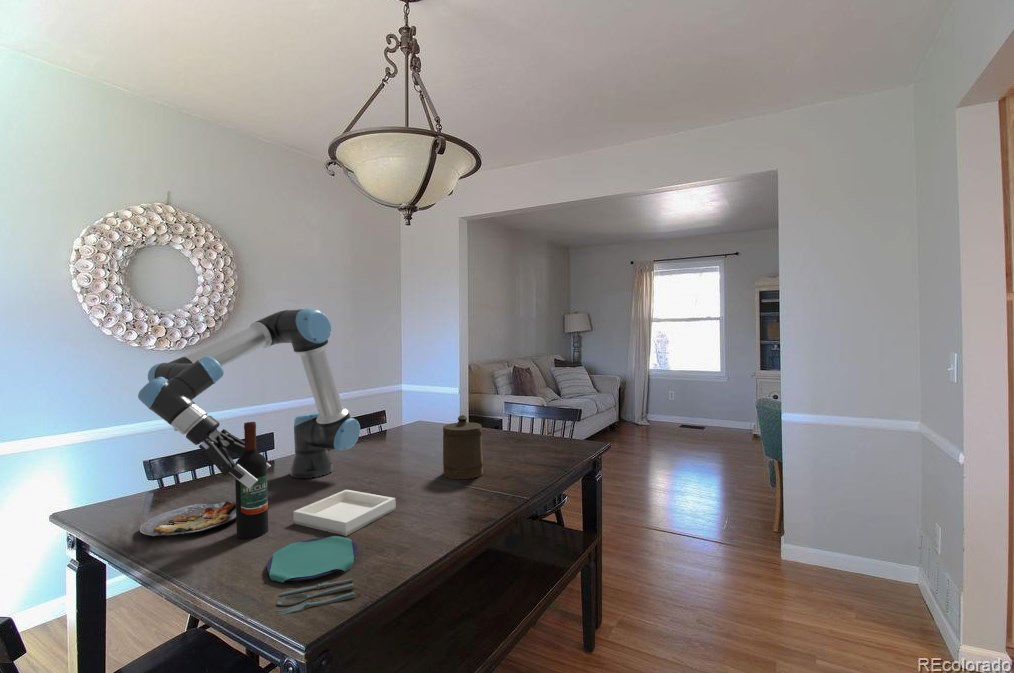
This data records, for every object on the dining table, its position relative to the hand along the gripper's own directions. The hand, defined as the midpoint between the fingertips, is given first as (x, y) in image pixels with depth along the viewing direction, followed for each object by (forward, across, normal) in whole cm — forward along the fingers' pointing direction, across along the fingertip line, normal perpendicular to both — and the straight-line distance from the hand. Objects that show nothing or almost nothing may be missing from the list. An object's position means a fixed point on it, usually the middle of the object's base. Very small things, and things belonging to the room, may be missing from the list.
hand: (260, 476), depth 128 cm
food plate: (-3, -13, -26) cm, 29 cm away
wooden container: (+54, -36, +32) cm, 72 cm away
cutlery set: (+23, +27, +1) cm, 36 cm away
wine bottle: (+9, 0, -12) cm, 15 cm away
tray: (+26, -5, +4) cm, 27 cm away
